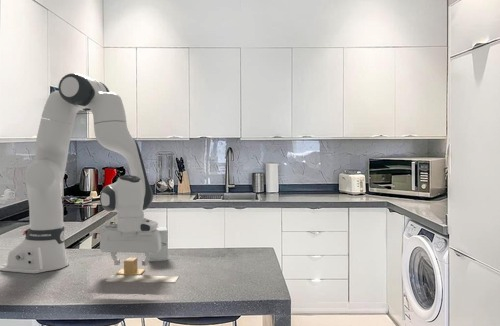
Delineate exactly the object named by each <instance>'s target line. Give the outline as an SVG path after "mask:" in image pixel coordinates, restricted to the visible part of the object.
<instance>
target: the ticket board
mask: <svg viewBox="0 0 500 326" xmlns="http://www.w3.org/2000/svg"><path fill="white" fill-rule="evenodd" d="M179 278H180V275H156V274H155V275H151V274H150V275H149V274H145V275H143V274H141V275H116V274H112V275H110V277H108V278H107V279H106V280H105V282H112V283H113V282H114V283H115V282H116V283H154V284H155V283H156V284H157V283H158V284H160V283H161V284H163V283H164V284H175V283H176V282H177V280H178V279H179Z"/></svg>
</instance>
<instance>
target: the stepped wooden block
mask: <svg viewBox="0 0 500 326" xmlns="http://www.w3.org/2000/svg"><path fill="white" fill-rule="evenodd" d="M145 271H146V269H145V268H138V257H128V258H126V259H125V260H124V261H123V268H121V269H120V270H118V271H117V272H116V273H115V275H143V274H144V273H145Z"/></svg>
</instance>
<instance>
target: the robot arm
mask: <svg viewBox="0 0 500 326" xmlns="http://www.w3.org/2000/svg"><path fill="white" fill-rule="evenodd" d="M81 110H82V111H84V112H88V111H91V112H92V117H93V120H92V121H93V128H94V129H93V131H94V132H93V133H94V136H95V139H96V141H97V143H98V144H100V145H101V146H102V147H103V148H105V149H107V150H109V151H112V152H115V153H117V154H119V155H120V156H123V158H124V159H125V160H126V161H127V164H128V167H129V172H130V174H129V175H128V174H125V175H121V176H118V177H117V180H116V181H115V182H114V183H111V184H108V185H107V184H106V185H105V186H104V187H103V188H102V190H101V191H100V195H99V201H100V206H101V207H102V208H103V210H105V211H107V212H109V213H117V214H116V223H115V224H114V223H111V224H110V223H105V224H103V225H102V226H101V227H100V228H99V234H100V239H99V241H100V242H99V251H100V252H102V253H110V257H111V259H112V260H113V265H114V266H119V265H121V259H120V258H118V257H117V254H118V253H130V254H131V253H133V254H134V253H137V254H138V253H139V254H141V253H142V254H143V253H144V256H145V259H144V258H143V259H142V261H141V266H142V267H146V266H148V262H149V261H148V259H149V257H150V255H151V253H158V252H159V251H160V250H161V236H160V232H159V231H158V230H157V227H159V223H158V222H157V221H154V220H151V219H150V218H149V219H148V218H146V217H145V214H144V213H145V212H144V211H145V210H147V208H149V207H150V205H151V204H152V202H153V200H154V192H153V189H152V187H151V184H150V182H149V180H148V175H147V171H146V167H145V165H144V161H143V160H144V159H143V157H142V153H141V150H140V145H139V143H138V141H137V140H136V139H134V137H133V136H132V135H131V133H130V131H129V129H128V125H127V116H126V111H125V107H124V104H123V100H122V98H121V96H120V95H118V94H117V93H115V92H113V91H110V90H109V88H108V87H107V85H105V84H104V83H103V82H100V81H98V80H97V79H95V78H93V77H91V76H86V75H83V74H80V73H76V72H74V73H68V74H65V75H64V76H62V77H61V79H60V80H59V83H58V90H55V91H52V92H51V93H49V95H48V97H47V100H46V102H45V104H44V106H43V110H42V113H41V118H40V121H39V126H38V130H37V134H36V138H35V139H36V140H35V141H36V143H35V144H36V145H35V156H34V161H33V162H31V163H29V164H28V166H27V167H26V169H25V172H24V181H25V187H26V188H25V189H26V195H27V200H28V201H27V202H28V207H29V210H28V211H29V212H28V213H29V228H28V229H26V230H24V231H23V232H22V235H23V236H25V237H24V239H23V240H22V241H21V242H19V243H18V244H17V245H15V246H14V247H12V248H11V250H10V251H9V252H8V256H7V262H5V263H3V264H2V265H0V271H3V272H11V273H12V272H13V273H24V274H40V273H43V272H49V271H56V270H59V269H63V268H65V267H67V266H69V261H68V258H67V257H68V256H67V253H66V247H65V241H66V239H65V238H66V232H65V226H64V205H63V201H62V199H63V198H62V192H61V183H62V182H63V180H64V178H65V174H66V173H65V172H66V168H67V164H68V163H67V162H68V156H69V147H70V143H71V139H72V136H73V135H72V134H73V132H74V131H73V130H74V125H75V121H76V116H77V114H78V112H80V111H81Z"/></svg>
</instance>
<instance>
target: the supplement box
mask: <svg viewBox="0 0 500 326" xmlns="http://www.w3.org/2000/svg"><path fill="white" fill-rule="evenodd" d="M157 230H158V231H159V232H160V236H161V250H160V251H159V252H158V253H151V255H150V257H149V259H148V262H159V261H168V259H169V258H168V257H169V256H168V255H169V254H168V253H169V251H168V248H169V247H168V246H169V245H168V244H169V243H168V238H169V236H168V235H169V234H168V233H169V231H168V228H167V227H166V226H158V227H157Z"/></svg>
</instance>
